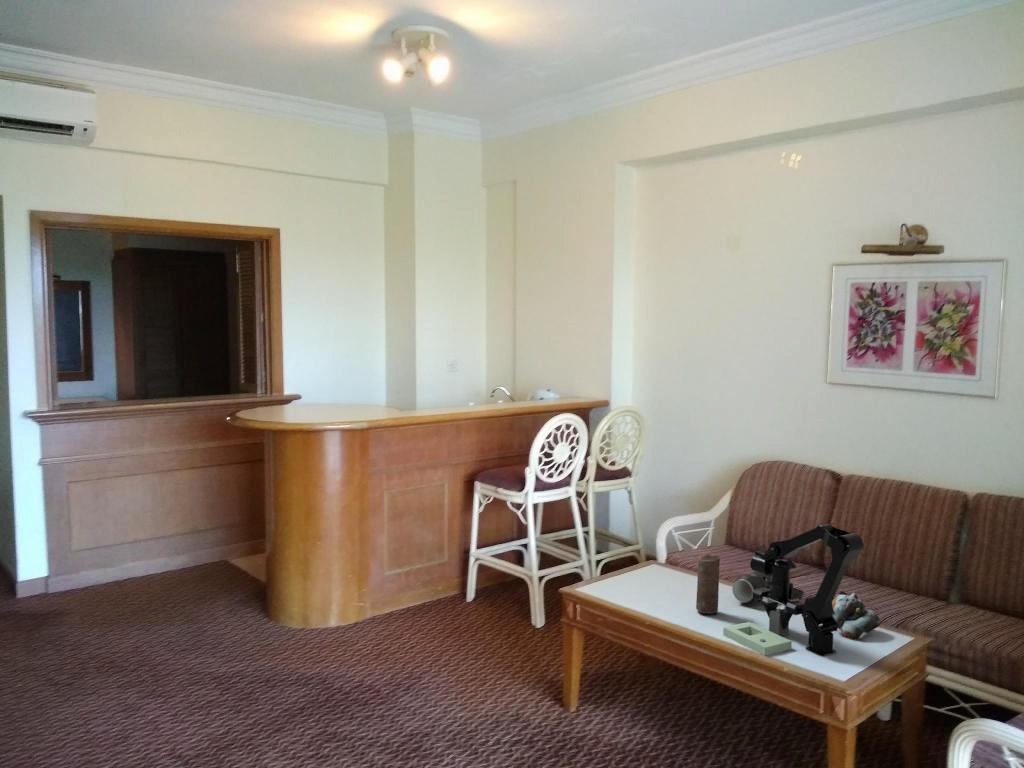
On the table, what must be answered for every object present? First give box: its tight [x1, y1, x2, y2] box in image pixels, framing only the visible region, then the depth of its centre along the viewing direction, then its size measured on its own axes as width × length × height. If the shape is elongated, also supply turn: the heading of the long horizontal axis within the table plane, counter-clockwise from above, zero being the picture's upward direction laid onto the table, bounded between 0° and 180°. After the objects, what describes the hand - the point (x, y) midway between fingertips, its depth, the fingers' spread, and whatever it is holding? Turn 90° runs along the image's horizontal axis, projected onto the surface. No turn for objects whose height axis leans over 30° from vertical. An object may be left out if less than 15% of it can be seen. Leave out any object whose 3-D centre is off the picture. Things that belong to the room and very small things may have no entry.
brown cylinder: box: [695, 553, 721, 615], centre depth 276 cm, size 8×7×20 cm
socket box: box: [722, 621, 793, 656], centre depth 251 cm, size 18×11×3 cm, turn 27°
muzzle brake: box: [731, 571, 792, 604], centre depth 293 cm, size 10×28×10 cm, turn 135°
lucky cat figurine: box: [832, 590, 883, 640], centre depth 260 cm, size 15×12×14 cm
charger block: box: [768, 608, 790, 637], centre depth 258 cm, size 4×4×7 cm
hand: (778, 626), depth 258 cm, fingers closed on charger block, 4 cm apart
